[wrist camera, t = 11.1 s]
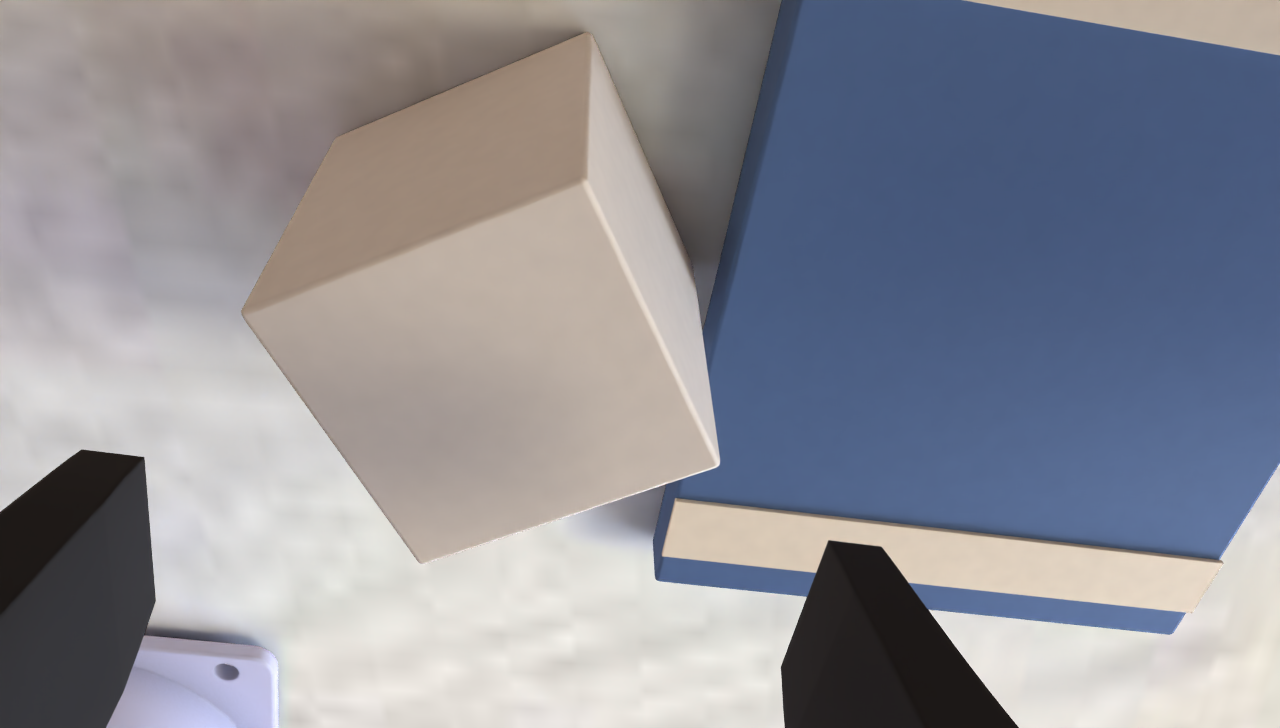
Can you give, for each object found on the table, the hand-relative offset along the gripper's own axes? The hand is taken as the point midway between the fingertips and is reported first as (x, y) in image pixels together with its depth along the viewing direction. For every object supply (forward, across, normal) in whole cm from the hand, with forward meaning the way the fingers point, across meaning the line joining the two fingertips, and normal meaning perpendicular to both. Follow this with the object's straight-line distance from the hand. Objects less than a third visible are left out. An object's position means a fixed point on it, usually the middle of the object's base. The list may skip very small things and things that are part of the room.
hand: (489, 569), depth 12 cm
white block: (+8, 0, 0) cm, 8 cm away
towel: (+8, -9, 0) cm, 12 cm away
